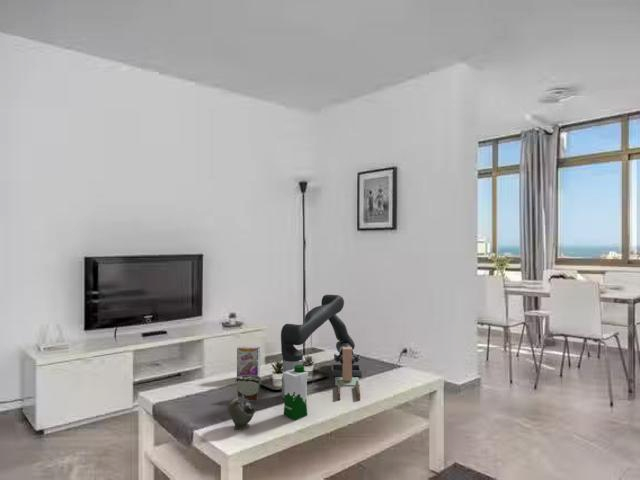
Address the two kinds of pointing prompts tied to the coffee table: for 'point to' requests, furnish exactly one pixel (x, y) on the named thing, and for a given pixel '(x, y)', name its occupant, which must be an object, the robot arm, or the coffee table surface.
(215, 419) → the coffee table surface
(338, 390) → the walled channel
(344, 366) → the terracotta post
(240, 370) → the candy bar box
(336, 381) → the pad
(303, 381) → the milk carton
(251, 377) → the food container
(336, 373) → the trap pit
